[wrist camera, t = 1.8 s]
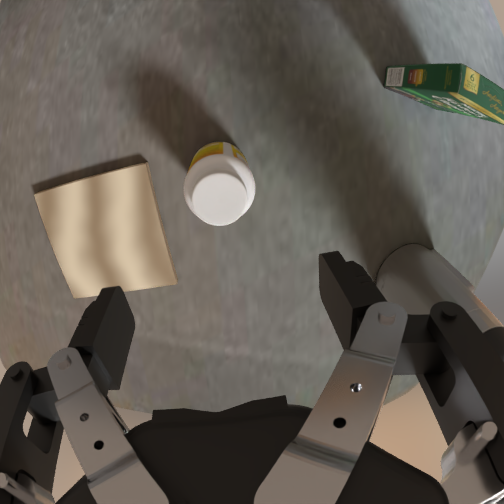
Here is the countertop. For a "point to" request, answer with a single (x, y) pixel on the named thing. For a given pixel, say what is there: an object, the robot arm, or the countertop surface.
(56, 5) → the countertop surface
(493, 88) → the coffee box
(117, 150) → the countertop surface
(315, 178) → the countertop surface
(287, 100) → the countertop surface
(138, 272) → the oak board
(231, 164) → the supplement bottle
